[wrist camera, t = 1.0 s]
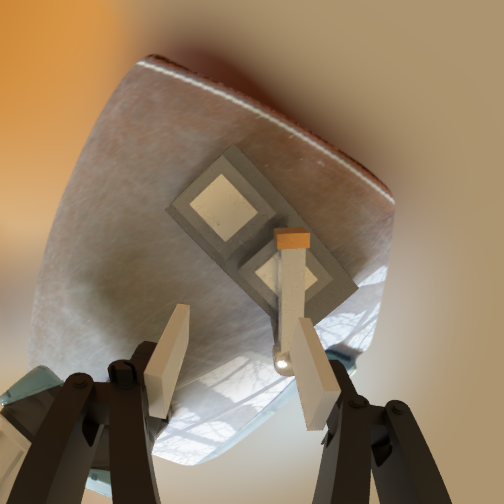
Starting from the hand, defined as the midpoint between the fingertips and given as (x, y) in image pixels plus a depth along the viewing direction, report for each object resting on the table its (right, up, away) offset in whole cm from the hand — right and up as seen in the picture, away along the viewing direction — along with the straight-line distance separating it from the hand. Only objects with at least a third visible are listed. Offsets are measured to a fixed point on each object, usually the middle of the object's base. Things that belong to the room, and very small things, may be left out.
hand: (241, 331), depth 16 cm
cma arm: (+5, -1, +15) cm, 16 cm away
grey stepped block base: (+3, +6, +22) cm, 23 cm away
